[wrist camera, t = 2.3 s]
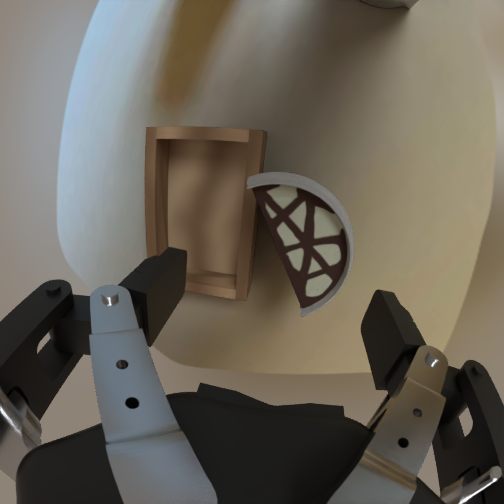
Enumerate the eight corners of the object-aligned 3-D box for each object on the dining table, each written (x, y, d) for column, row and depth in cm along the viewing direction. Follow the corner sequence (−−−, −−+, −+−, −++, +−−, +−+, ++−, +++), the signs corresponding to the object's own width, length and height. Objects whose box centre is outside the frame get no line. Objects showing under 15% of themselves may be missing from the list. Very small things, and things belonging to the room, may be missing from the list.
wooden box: (267, 131, 26) (263, 130, 22) (251, 282, 33) (246, 301, 29) (163, 127, 27) (146, 127, 23) (163, 268, 34) (149, 283, 30)
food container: (352, 251, 30) (373, 300, 21) (301, 268, 31) (303, 321, 22) (315, 146, 26) (328, 149, 17) (259, 167, 28) (243, 181, 18)
